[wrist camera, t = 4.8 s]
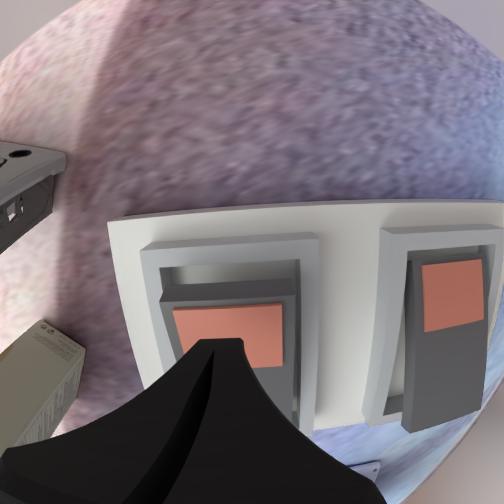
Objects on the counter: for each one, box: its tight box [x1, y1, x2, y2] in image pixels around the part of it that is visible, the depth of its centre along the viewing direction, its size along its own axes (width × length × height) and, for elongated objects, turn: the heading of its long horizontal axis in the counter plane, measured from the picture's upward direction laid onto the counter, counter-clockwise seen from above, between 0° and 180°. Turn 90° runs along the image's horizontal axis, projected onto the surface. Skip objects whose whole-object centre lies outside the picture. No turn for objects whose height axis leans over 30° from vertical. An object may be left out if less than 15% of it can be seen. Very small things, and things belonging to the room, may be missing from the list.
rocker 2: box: [401, 253, 488, 433], centre depth 13 cm, size 9×5×1 cm, turn 4°
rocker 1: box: [159, 278, 295, 423], centre depth 14 cm, size 9×5×1 cm, turn 4°
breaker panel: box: [107, 199, 504, 437], centre depth 16 cm, size 14×23×4 cm, turn 94°
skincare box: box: [0, 320, 86, 457], centre depth 13 cm, size 6×4×12 cm
